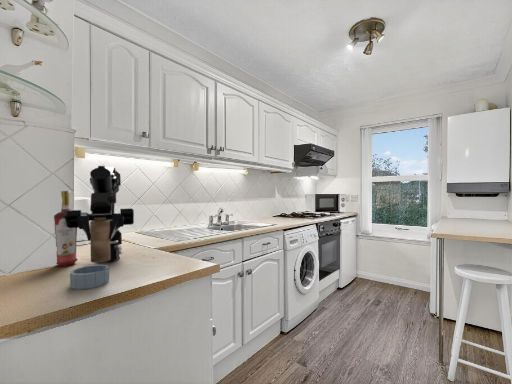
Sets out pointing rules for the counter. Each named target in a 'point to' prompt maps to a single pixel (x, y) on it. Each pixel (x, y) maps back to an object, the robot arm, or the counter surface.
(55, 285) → the counter surface
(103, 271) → the blue segmented ring
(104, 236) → the pepper mill
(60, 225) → the liquor
